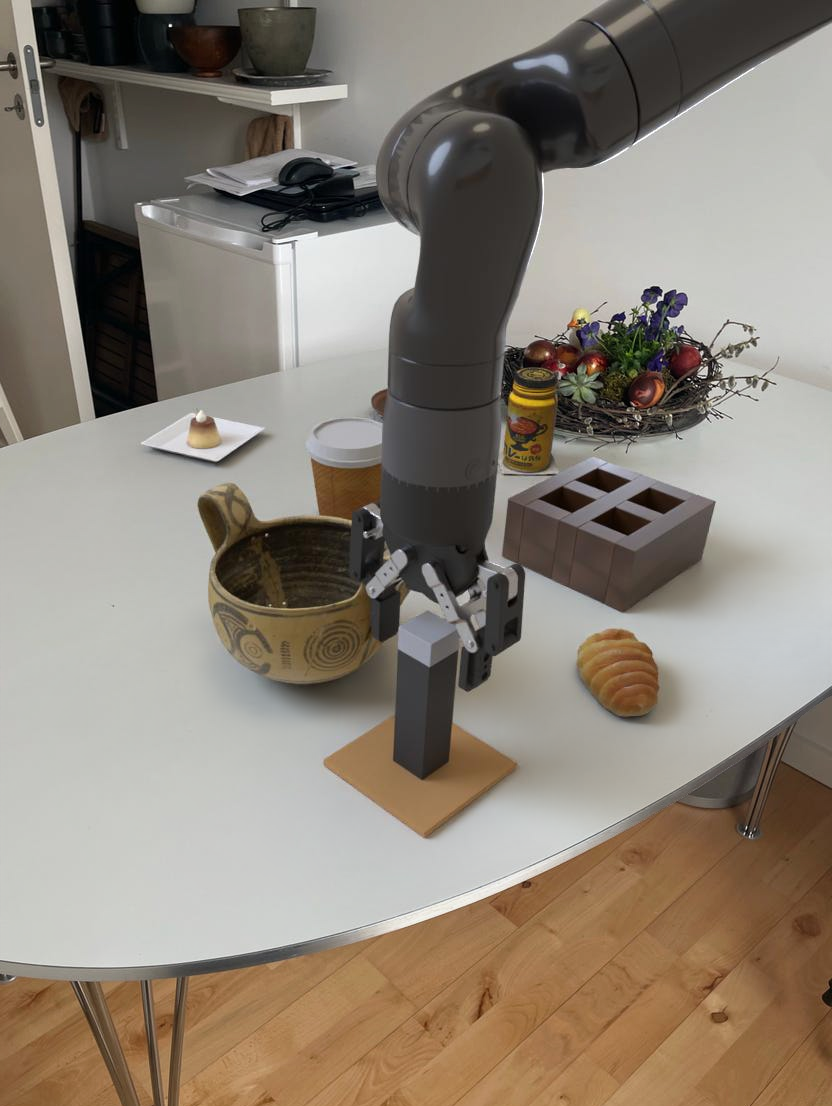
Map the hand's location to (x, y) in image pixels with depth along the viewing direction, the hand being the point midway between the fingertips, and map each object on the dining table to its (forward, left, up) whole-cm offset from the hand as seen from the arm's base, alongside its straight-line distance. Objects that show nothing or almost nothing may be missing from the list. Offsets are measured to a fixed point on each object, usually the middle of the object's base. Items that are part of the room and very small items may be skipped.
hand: (426, 660), depth 72 cm
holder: (+9, -39, -11) cm, 41 cm away
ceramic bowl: (+17, -3, -11) cm, 20 cm away
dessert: (+63, -26, -11) cm, 69 cm away
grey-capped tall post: (0, 0, -10) cm, 10 cm away
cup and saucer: (+51, -54, -11) cm, 75 cm away
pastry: (-5, -21, -11) cm, 24 cm away
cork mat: (0, 0, -11) cm, 11 cm away
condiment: (+30, -53, -11) cm, 62 cm away
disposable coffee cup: (+32, -23, -11) cm, 41 cm away
